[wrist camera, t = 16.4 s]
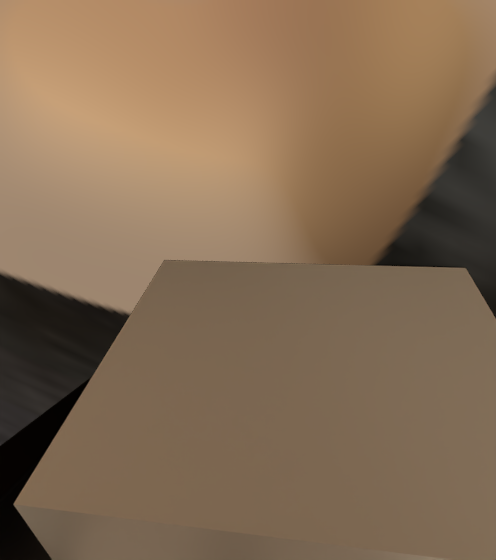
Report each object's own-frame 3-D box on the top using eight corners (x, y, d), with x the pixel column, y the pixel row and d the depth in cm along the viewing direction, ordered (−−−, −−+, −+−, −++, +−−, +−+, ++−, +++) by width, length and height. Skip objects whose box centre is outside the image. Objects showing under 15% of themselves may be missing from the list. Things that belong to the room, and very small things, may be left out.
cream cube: (411, 455, 14) (473, 736, 9) (198, 436, 15) (132, 673, 10) (465, 268, 10) (655, 585, 4) (164, 260, 11) (13, 503, 5)
